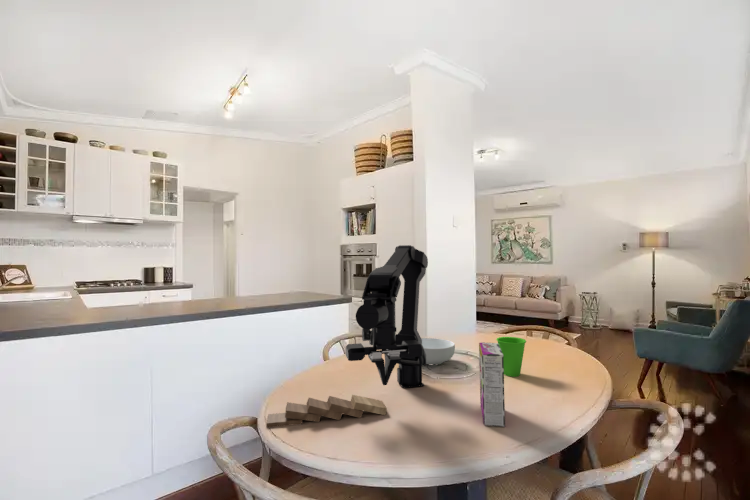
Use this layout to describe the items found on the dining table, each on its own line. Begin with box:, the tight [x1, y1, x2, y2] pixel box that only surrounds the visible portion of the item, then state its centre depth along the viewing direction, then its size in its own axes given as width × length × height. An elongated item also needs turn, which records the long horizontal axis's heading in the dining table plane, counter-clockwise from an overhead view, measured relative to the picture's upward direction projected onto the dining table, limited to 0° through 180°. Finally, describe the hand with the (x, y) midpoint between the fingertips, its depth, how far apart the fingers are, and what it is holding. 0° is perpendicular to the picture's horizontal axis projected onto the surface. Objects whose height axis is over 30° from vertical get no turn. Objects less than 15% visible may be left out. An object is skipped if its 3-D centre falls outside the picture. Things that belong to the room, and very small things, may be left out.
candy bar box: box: [478, 341, 506, 428], centre depth 91 cm, size 11×5×16 cm, turn 168°
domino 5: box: [350, 394, 388, 416], centre depth 94 cm, size 2×5×8 cm
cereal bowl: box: [421, 337, 456, 365], centre depth 137 cm, size 17×17×7 cm
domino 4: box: [326, 395, 364, 419], centre depth 93 cm, size 2×5×8 cm
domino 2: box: [284, 402, 322, 423], centre depth 91 cm, size 2×5×8 cm
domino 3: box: [306, 397, 343, 421], centre depth 92 cm, size 2×5×8 cm
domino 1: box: [265, 412, 303, 428], centre depth 90 cm, size 2×5×8 cm
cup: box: [495, 336, 527, 378], centre depth 122 cm, size 9×9×11 cm
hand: (384, 384), depth 95 cm, fingers closed
